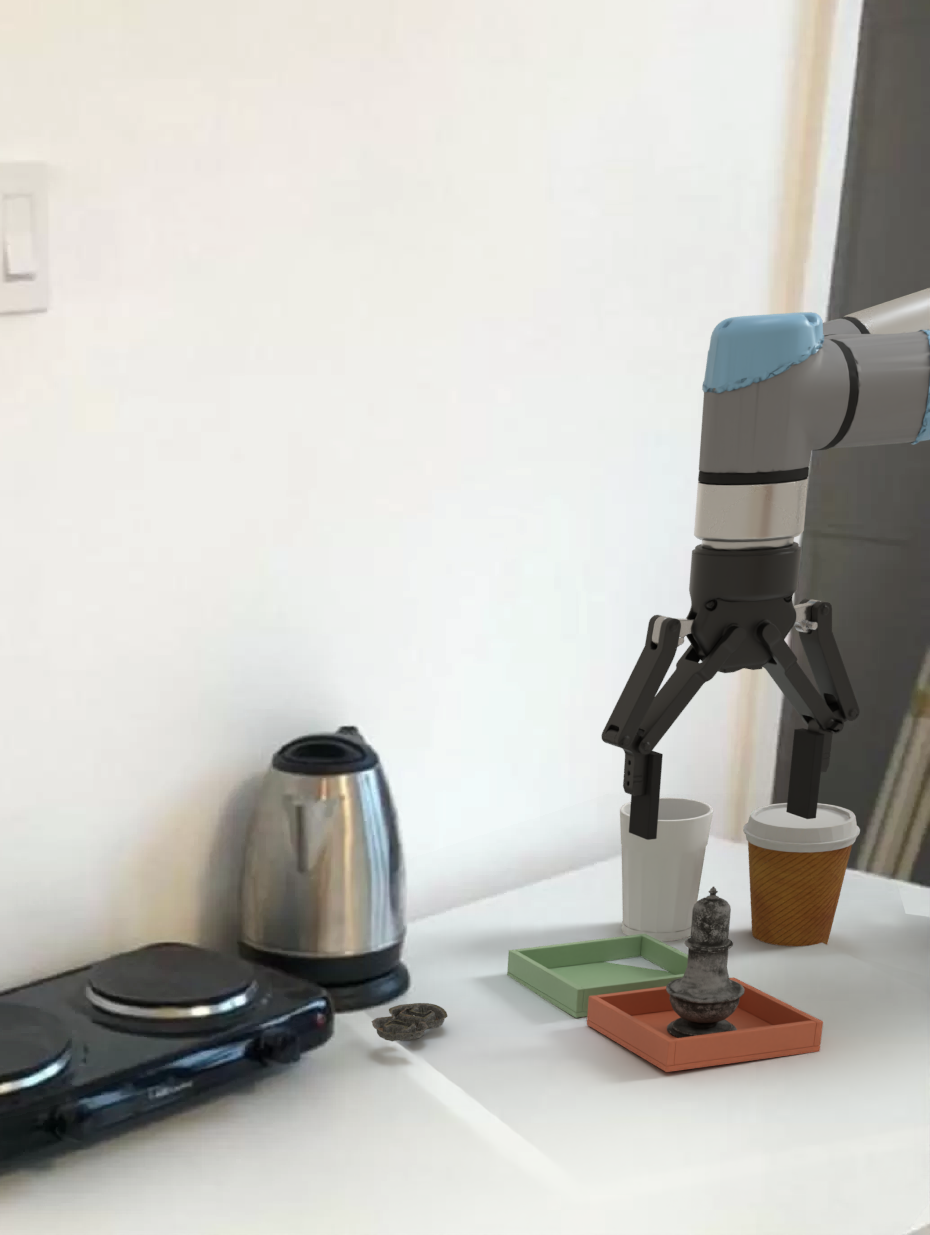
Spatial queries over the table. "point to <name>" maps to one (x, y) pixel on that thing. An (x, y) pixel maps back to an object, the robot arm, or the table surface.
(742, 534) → the robot arm
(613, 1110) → the table surface
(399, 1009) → the corroded twin loop
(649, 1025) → the terracotta tray
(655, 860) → the cup
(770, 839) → the disposable coffee cup
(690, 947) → the salt shaker
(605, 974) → the green tray
